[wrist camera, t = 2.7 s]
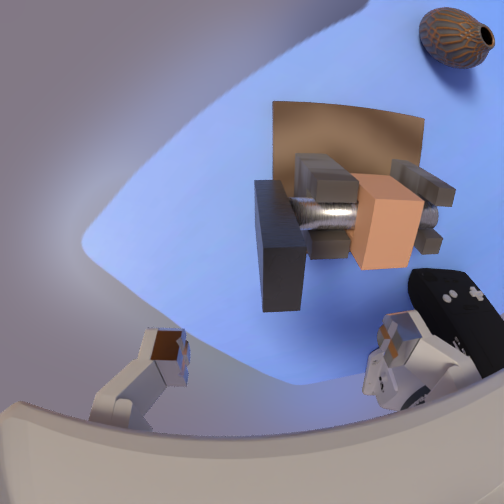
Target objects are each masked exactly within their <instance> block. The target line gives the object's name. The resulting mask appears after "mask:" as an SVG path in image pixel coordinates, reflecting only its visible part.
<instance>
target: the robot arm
mask: <svg viewBox="0 0 504 504" xmlns="http://www.w3.org/2000/svg"><path fill="white" fill-rule="evenodd" d="M382 321H383V323H384V324H383V325H382V326H381V327H380V328H379V330H378V333H377V341H378V345H379V349H377V350H375V351H373V352H372V353H371V354H370V355H369V356H368V362H367V368H366V373H365V378H364V384H363V388H362V392H363V394H365V395H376V398H377V401H378V403H379V405H380V407H382V408H384V409H389V410H394V411H398V412H395V413H391V414H387V415H384V416H380V417H376V418H372V419H368V420H364V421H359V422H354V423H349V424H345V425H339V426H334V427H328V428H322V429H315V430H308V431H301V432H291V433H282V434H269V435H251V436H197V435H179V434H167V433H157V432H152V430H153V428H152V427H151V426H150V425H149V423H148V422H147V421H146V420H145V418H144V415H145V414H146V413H147V412H148V410H149V409H150V408H151V407H152V405H153V404H154V403H155V402H156V400H157V399H158V398H159V397H160V395H161V394H162V393H163V392H164V390H165V389H166V388H167V387H166V386H174V387H175V386H176V387H187V382H188V374H189V373H188V370H187V366H188V365H189V364H190V346H189V343H188V341H187V340H186V332H185V329H180V328H178V329H177V328H149V327H148V328H147V329H146V330H145V334H144V337H143V341H142V344H141V347H140V351H139V355H138V358H137V359H134V360H133V361H131V362H130V363H129V364H128V365H127V366H126V367H125V368H124V369H123V370H122V371H120V373H118V374H117V375H116V376H115V377H114V378H113V379H112V380H111V381H109V382H108V383H107V384H106V385H105V386H104V387H103V388H102V389H101V390H100V391H99V392H97V393H96V396H95V399H94V402H93V406H92V409H91V413H90V417H89V420H88V421H87V420H83V419H79V418H75V417H72V416H68V415H64V414H61V413H57V412H54V411H51V410H48V409H44V408H42V407H39V406H36V405H33V404H30V403H28V402H24V401H18V402H16V403H14V404H13V405H11V406H10V407H8V408H7V409H6V410H4V411H3V412H2V413H0V504H504V368H503V369H501V370H499V371H497V372H496V373H494V374H492V375H490V376H488V377H486V378H484V379H482V378H481V376H480V374H479V372H478V370H477V368H476V366H475V365H474V363H473V361H472V359H471V358H469V357H468V356H466V355H465V354H463V353H462V352H460V351H459V350H457V349H456V348H454V347H453V346H451V345H449V344H448V343H446V342H445V341H443V340H442V339H440V338H439V337H437V336H436V335H432V334H431V333H430V331H429V329H428V327H427V326H426V324H425V322H424V321H423V319H422V318H421V316H420V314H419V313H418V311H417V310H410V311H403V312H397V313H391V314H386V315H385V316H384V318H383V320H382Z"/></svg>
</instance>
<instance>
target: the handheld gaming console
mask: <svg viewBox="0 0 504 504" xmlns="http://www.w3.org/2000/svg"><path fill="white" fill-rule="evenodd" d="M408 293H409V296H410V299H411V302H412V304H413V306H414V309H415V310H417V311H418V313H419V314H420V316H421V318H422V319H423V321H424V322H425V324H426V326H427V327H428V329H429V331H430V333H431V334H432V335H436V336H437V337H439V338H440V339H442V340H443V341H445V342H446V343H448V344H449V345H451V346H453V347H454V348H456V349H457V350H459V351H460V352H462V353H463V354H465V355H466V356H468V357H469V358H471V359H472V361H473V363H474V365H475V366H476V368H477V370H478V372H479V374H480V376H481V378H482V379H484V378H486V377H488V376H490V375H492V374H494V373H496V372H497V371H499V370H501V369H503V368H504V321H503V319H502V318H501V317H500V315H499V314H498V312H497V311H496V310H495V308H494V307H493V306H492V304H491V303H490V302H489V300H488V299H487V298H486V296H485V295H484V294H483V293H482V291H481V290H480V289H479V288H478V287H477V285H476V284H475V283H474V282H473V281H472V280H471V279H470V277H469V276H468V275H467V274H466V273H465V272H461V271H455V270H445V269H431V268H422V269H413V271H412V273H411V275H410V277H409V282H408Z"/></svg>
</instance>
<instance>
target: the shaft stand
mask: <svg viewBox="0 0 504 504" xmlns="http://www.w3.org/2000/svg"><path fill="white" fill-rule="evenodd" d="M424 120H425V119H423V118H419V117H415V116H410V115H405V114H400V113H395V112H389V111H383V110H377V109H370V108H363V107H355V106H346V105H337V104H325V103H311V102H289V101H273V180H281V182H282V185H283V187H284V190H285V192H286V195H287V197H288V198H297V197H313V199H314V200H315V202H316V203H357V196H358V188H359V181H358V180H357V179H356V178H355V177H354V176H353V175H351V174H350V173H357V174H374V175H388V176H391V177H393V178H394V179H395V180H397V181H398V182H400V183H401V184H402V185H404V186H405V187H406V188H408V189H409V190H410V191H412V192H413V193H414V194H416V195H417V196H418V197H420V198H421V199H422V200H423V201H430V202H431V203H432V204H433V205H435V206H445V207H452V204H453V200H454V195H455V191H456V189H455V188H453V187H452V186H450V185H448V184H447V183H445V182H444V181H442V180H440V179H439V178H437V177H436V176H434V175H432V174H430V173H429V172H427V171H425V170H424V169H422V168H420V167H419V163H420V156H421V148H422V140H423V131H424ZM301 232H302V235H303V238H304V240H305V243H306V245H307V251H306V254H309V257H310V260H313V259H338V258H348V253H349V252H351V251H350V249H349V248H350V242H351V240H350V238H349V236H348V235H347V233H346V232H345V230H344V229H318V230H301ZM442 240H443V238H442V237H441V236H440V235H439V234H438V233H437V232H436V231H435V230H434V229H433V228H432V229H418V231H417V235H416V238H415V242H414V246H415V247H416V248H417V250H418V251H419V252H420V253H421V254H422V255H424V254H438V253H439V250H440V247H441V243H442Z"/></svg>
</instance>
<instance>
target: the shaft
mask: <svg viewBox="0 0 504 504" xmlns="http://www.w3.org/2000/svg"><path fill="white" fill-rule="evenodd" d="M254 185H255V230H256V241H257V252H258V263H259V274H260V286H261V297H262V309H263V312H283V311H300V306H301V298H302V289H303V280H304V271H305V261H306V251H307V245H306V243H305V240H304V238H303V235H302V232H301V230H318V229H355V224H356V217H357V211H358V204H359V201H358V200H357V203H316V202H315V200H314V199H313V197H297V198H288V197H287V195H286V192H285V190H284V187H283V185H282V182H281V180H254ZM437 222H438V209H437V206H435V205H433V204H432V203H431V202H430V201H425V202H424V206H423V211H422V215H421V219H420V223H419V227H418V229H432V228H434V227H435V226H436V224H437Z"/></svg>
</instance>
